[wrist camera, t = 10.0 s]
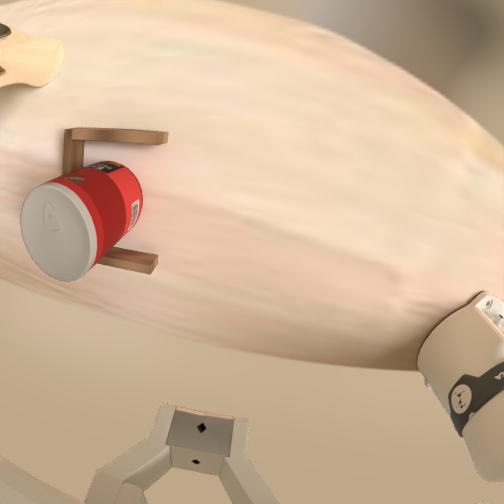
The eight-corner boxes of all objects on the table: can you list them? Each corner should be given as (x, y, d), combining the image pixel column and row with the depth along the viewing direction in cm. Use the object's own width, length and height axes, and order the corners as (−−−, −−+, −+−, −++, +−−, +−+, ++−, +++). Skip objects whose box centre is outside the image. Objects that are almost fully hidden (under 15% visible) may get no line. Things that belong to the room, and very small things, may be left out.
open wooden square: (168, 132, 26) (159, 133, 24) (157, 263, 32) (150, 274, 30) (78, 127, 26) (64, 129, 23) (78, 247, 31) (67, 256, 29)
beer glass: (25, 98, 24) (-73, 110, 10) (25, 47, 21) (-67, 41, 7) (67, 79, 23) (-39, 78, 10) (68, 25, 20) (-28, 1, 7)
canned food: (125, 146, 27) (61, 165, 17) (158, 216, 30) (112, 266, 20) (72, 179, 28) (6, 210, 18) (103, 241, 31) (50, 292, 21)
